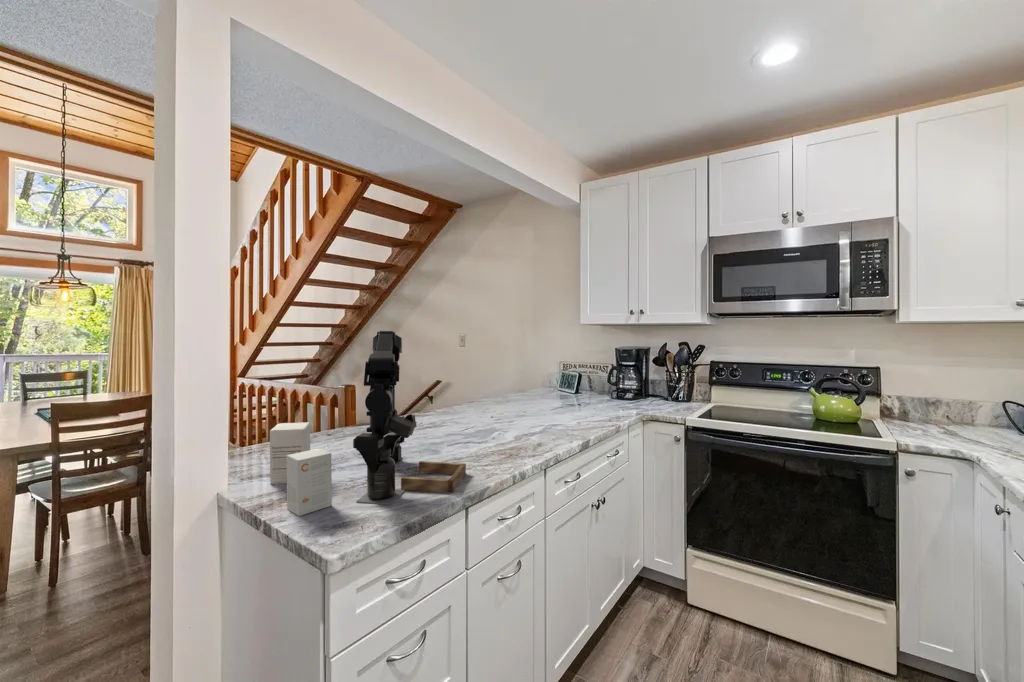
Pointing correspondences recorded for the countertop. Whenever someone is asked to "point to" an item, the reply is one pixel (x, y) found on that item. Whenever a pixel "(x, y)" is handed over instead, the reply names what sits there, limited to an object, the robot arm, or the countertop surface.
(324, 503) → the small box
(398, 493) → the slate mat
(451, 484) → the frame
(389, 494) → the supplement bottle
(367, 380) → the robot arm
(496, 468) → the countertop surface
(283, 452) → the supplement box
